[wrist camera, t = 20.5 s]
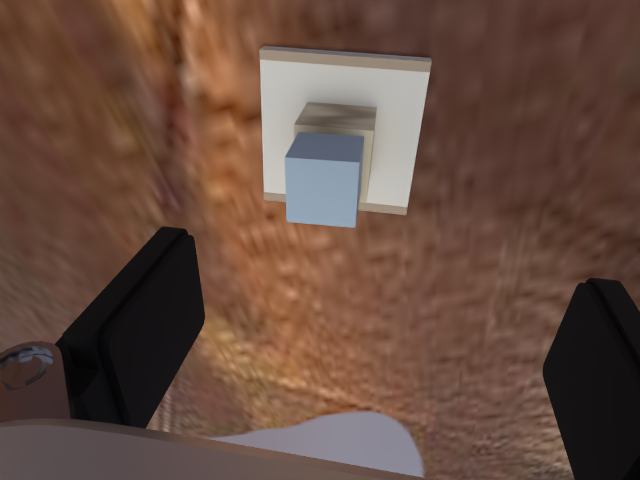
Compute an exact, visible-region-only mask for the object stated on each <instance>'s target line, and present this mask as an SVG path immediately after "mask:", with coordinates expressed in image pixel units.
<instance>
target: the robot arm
mask: <svg viewBox="0 0 640 480" xmlns="http://www.w3.org/2000/svg"><path fill="white" fill-rule="evenodd" d="M204 320H205V312H204V305H203V297H202V290H201V283H200V276H199V269H198V262H197V255H196V248H195V241H194V237H193V236H192V235H188V232H187V230H185V229H182V228H174V227H165V226H164V227H161V228H160V229H159V230H158V231H157V232H156V233H155V234H154V236H153V237H152V238H151V239H150V240H149V241H148V242H147V243H146V244H145V245H144V246H143V247H142V249H141V250H140V251H139V252H138V253H137V254H136V255H135V256H134V257H133V258H132V259H131V260H130V262H129V263H128V264H127V265H126V266H125V267H124V268H123V269H122V270H121V271H120V272H119V273H118V275H117V276H116V277H115V278H114V279H113V280H112V281H111V282H110V283H109V284H108V285H107V286H106V288H105V289H104V290H103V291H102V292H101V293H100V294H99V295H98V296H97V297H96V298H95V299H94V301H93V302H92V303H91V304H90V305H89V306H88V307H87V308H86V309H85V310H84V311H83V312H82V314H81V315H80V316H79V317H78V318H77V319H76V320H75V321H74V322H73V323H72V324H71V325H70V327H69V328H68V329H67V330H66V331H65V332H64V333H63V336H62V337H61V338H60V339H59V340H58V341H57V342H56V343H55V344H53V343H49V342H45V341H31V342H27V343H22V344H19V345H16V346H13V347H11V348H8V349H6V350H5V351H3V352H1V353H0V480H432V479H427V478H422V477H416V476H410V475H405V474H399V473H393V472H389V471H382V470H378V469H372V468H367V467H361V466H356V465H350V464H344V463H339V462H334V461H327V460H322V459H317V458H311V457H306V456H300V455H295V454H289V453H283V452H278V451H272V450H267V449H261V448H255V447H249V446H243V445H238V444H232V443H227V442H221V441H215V440H209V439H204V438H198V437H192V436H187V435H181V434H175V433H169V432H163V431H156V430H150V429H145V428H146V427H147V425H148V423H149V421H150V420H151V418H152V416H153V414H154V412H155V411H156V409H157V407H158V405H159V404H160V402H161V400H162V398H163V396H164V395H165V393H166V391H167V389H168V388H169V386H170V384H171V382H172V380H173V379H174V377H175V375H176V373H177V372H178V370H179V368H180V366H181V364H182V363H183V361H184V359H185V357H186V356H187V354H188V352H189V350H190V349H191V347H192V345H193V343H194V341H195V340H196V338H197V336H198V334H199V333H200V331H201V329H202V327H203V324H204ZM543 378H544V382H545V385H546V388H547V391H548V395H549V398H550V401H551V404H552V408H553V411H554V414H555V417H556V420H557V424H558V427H559V430H560V433H561V436H562V440H563V443H564V446H565V449H566V453H567V456H568V459H569V462H570V465H571V469H572V472H573V475H574V478H575V480H640V312H639V310H638V308H637V307H636V305H635V304H634V302H633V301H632V299H631V297H630V296H629V294H628V293H627V291H626V290H625V288H624V287H623V285H622V284H621V283H620V282H619V281H616V280H607V279H599V278H589V279H588V280H587V281H586V283H579V284H578V285H577V287H576V289H575V292H574V294H573V296H572V299H571V301H570V303H569V306H568V308H567V310H566V313H565V315H564V317H563V320H562V322H561V324H560V327H559V329H558V331H557V334H556V336H555V339H554V341H553V343H552V346H551V348H550V350H549V353H548V355H547V357H546V360H545V362H544V365H543Z"/></svg>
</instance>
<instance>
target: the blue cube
mask: <svg viewBox="0 0 640 480" xmlns="http://www.w3.org/2000/svg"><path fill="white" fill-rule="evenodd" d="M363 149H364V136H353V135H337V134H321V133H305V132H298V134H297V136H296V138H295V139H294V141H293V143H292V145H291V147H290V149H289V150H288V152H287V154H286V156H285V184H286V215H287V222H295V223H306V224H318V225H329V226H341V227H352V228H355V226H356V220H357V214H358V208H359V201H360V194H361V179H362V164H363Z"/></svg>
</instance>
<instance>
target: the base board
mask: <svg viewBox="0 0 640 480" xmlns="http://www.w3.org/2000/svg"><path fill="white" fill-rule="evenodd" d="M259 52H260V75H261V108H262V142H263V175H264V200H271V201H280V202H286V184H285V156H286V154H287V152H288V150H289V149H290V147H291V145H292V143H293V141H294V123H295V122H296V120H297V119H298V117H299V115H300V114H301V112H302V110H303V109H304V107H305V105H306V104H307V102H315V103H328V104H341V105H354V106H367V107H377V113H376V123H375V132H374V142H373V152H372V161H371V171H370V179H369V186H368V194H367V202H359V208H358V210H363V211H372V212H382V213H391V214H400V215H406V213H407V206H408V200H409V194H410V188H411V182H412V176H413V170H414V164H415V158H416V152H417V146H418V140H419V134H420V128H421V122H422V116H423V110H424V104H425V98H426V92H427V86H428V80H429V74H430V69H431V63H432V61H431V58H425V57H411V56H397V55H384V54H370V53H356V52H342V51H329V50H315V49H301V48H287V47H274V46H263V47H262V48H261V49H259Z"/></svg>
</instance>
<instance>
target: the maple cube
mask: <svg viewBox="0 0 640 480" xmlns="http://www.w3.org/2000/svg"><path fill="white" fill-rule="evenodd" d="M376 113H377V107H367V106H354V105H341V104H328V103H315V102H307V104H306V105H305V107H304V109H303V110H302V112H301V114H300V115H299V117H298V119H297V120H296V122H295V123H294V139H295V138H296V136H297V134H298V132H305V133H321V134H337V135H353V136H364V149H363V164H362V179H361V194H360V201H359V202H367V194H368V186H369V179H370V171H371V161H372V152H373V142H374V132H375V123H376Z"/></svg>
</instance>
